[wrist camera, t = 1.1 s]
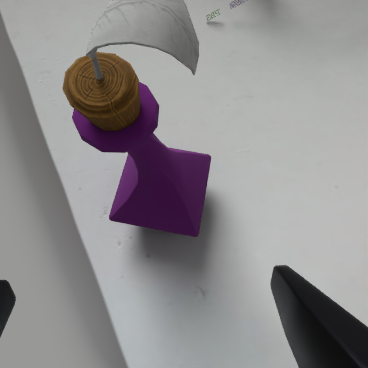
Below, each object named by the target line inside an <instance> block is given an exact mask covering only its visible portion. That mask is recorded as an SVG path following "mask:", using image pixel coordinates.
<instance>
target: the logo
mask: <svg viewBox="0 0 368 368" xmlns="http://www.w3.org/2000/svg"><path fill="white" fill-rule="evenodd" d="M235 1H236V0H235ZM238 1H239V0H238ZM241 1H242V0H241ZM233 2H234V1H233ZM236 2H237V1H236ZM239 2H240V1H239ZM242 2H243V1H242ZM234 3H235V2H234ZM237 3H238V2H237ZM240 3H241V2H240ZM235 4H236V3H235ZM238 4H239V3H238ZM233 5H234V4H233ZM236 5H237V4H236ZM239 5H240V4H239ZM231 6H232V5H231ZM234 6H235V5H234ZM237 6H238V5H237ZM232 7H233V6H232ZM235 7H236V6H235ZM230 8H231V7H230ZM233 8H234V7H233ZM231 9H232V8H231ZM216 11H218V12H217V13H218V15H220V14H219V9H218V10H216ZM216 11H214V12H215V14H217V13H216ZM214 12H212V13H213V15H212V13H211V18H214V17H216V16H215V15H214ZM208 15H209V17H210V14H208ZM208 15H207V16H208ZM218 15H217V16H218ZM207 16H206V17H207ZM212 16H214V17H212ZM209 17H208V18H209ZM208 18H207V21H209V20H210V19H211V18H210V19H209V20H208Z"/></svg>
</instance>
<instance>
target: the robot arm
mask: <svg viewBox="0 0 368 368" xmlns="http://www.w3.org/2000/svg"><path fill="white" fill-rule="evenodd" d="M271 290H272V293H273V296H274V300H275V303H276V306H277V309H278V313H279V316H280V319H281V322H282V325H283V329H284V332H285V335H286V337H287V340H288V343H289V345H290V347H291V350H292V352H293V355H294V357H295V359H296V362H297V364H298V367H299V368H368V327H367V326H366V325H364V324H363V323H362V322H360V321H359V320H358V319H356V318H355V317H354V316H353V315H351V314H350V313H349V312H347V311H346V310H345V309H343V308H342V307H341V306H339V305H338V304H337V303H336V302H334V301H333V300H332V299H330V298H329V297H328V296H326V295H325V294H324V293H323V292H321V291H320V290H319V289H317V288H316V287H315V286H313V285H312V284H311V283H309V282H308V281H307V280H306V279H304V278H303V277H302V276H300V275H299V274H298V273H296V272H295V271H294V270H292V269H291V268H290V267H288V266H286V265H279V266H275V267H274V269H273V273H272V278H271ZM15 301H16V297H15V295H14V292H13V290H12V288H11V286H10V284H9V282H8V281H6V280H0V336H1V334H2V332H3V330H4V328H5V325H6V323H7V321H8V318H9V316H10V314H11V312H12V309H13V307H14V305H15Z"/></svg>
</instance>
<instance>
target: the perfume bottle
mask: <svg viewBox="0 0 368 368" xmlns="http://www.w3.org/2000/svg"><path fill="white" fill-rule="evenodd" d="M117 44H136V45H141V46H147V47H152V48H157V49H159V50H161V51H163V52H166V53H168V54H170V55H172V56H173V57H175V58H176V59H177V60H178V61H180V62H181V63H182V64H184V65H185V66H186V67H188V68H189V69H190V70H191V71H192V73H193V75H195V72H196V67H197V62H198V57H199V42H198V39H197V36H196V33H195V30H194V27H193V24H192V21H191V18H190V15H189V12H188V10H187V7H186V4H185V3H184V1H183V0H112V1H111V3H110V4H109V6H108V7H107V9H106V10H105V11H104V13H103V14H102V16H101V17H100V18H99V20H98V21H97V22H96V24H95V25H94V26H93V28H92V30H91V35H90V39H89V43H88V48H87V52H86V56H83V57H81V58H78V59H77V60H76V61H75V62H74V63H73V64H72V65H71V66H70V68H69V69H68V70H67V71H66V72H65V77H64V84H63V91H64V93H65V95H66V97H67V99H68V101H69V103H70V105H71V106H72V107H73V108H74V112H73V116H72V118H73V121H74V123H75V126H76V128H77V130H78V132H79V134H80V136H81V139H82V140H83V141H85V142H86V143H88V144H90V145H91V146H93V147H95V148H96V149H98V150H100V151H101V152H120V153H125V152H128V156H127V160H126V163H125V166H124V169H123V173H122V176H121V179H120V183H119V186H118V189H117V192H116V196H115V199H114V202H113V205H112V209H111V212H110V215H109V219H110V220H111V221H115V222H121V223H126V224H131V225H136V226H141V227H146V228H151V229H156V230H162V231H167V232H172V233H177V234H182V235H187V236H192V237H197V236H198V234H199V229H200V223H201V217H202V211H203V205H204V199H205V193H206V187H207V180H208V174H209V168H210V162H211V156H210V155H208V154H202V153H196V152H190V151H185V150H179V149H173V148H168V147H166V146H165V145H164V144H163V143H162V142H160V141H159V139H158V138H157V137H156V136H155V135H154V133H153V132H154V130H155V129H156V128H157V126H158V115H159V105H158V103H157V101H156V100H155V98H154V96H153V95H152V93H151V91H150V90H149V88H148V87H147V86H146V85H144V84H142V83H140V82H139V79H138V77H137V75H136V74H135V72H134V70H133V68H132V66H131V64H130V63H128V62H127V61H125V60H124V59H122V58H120V57H119V56H117V55H116V54H111V53H102V52H96V51H97V48H100V47H104V46H108V45H117Z"/></svg>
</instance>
